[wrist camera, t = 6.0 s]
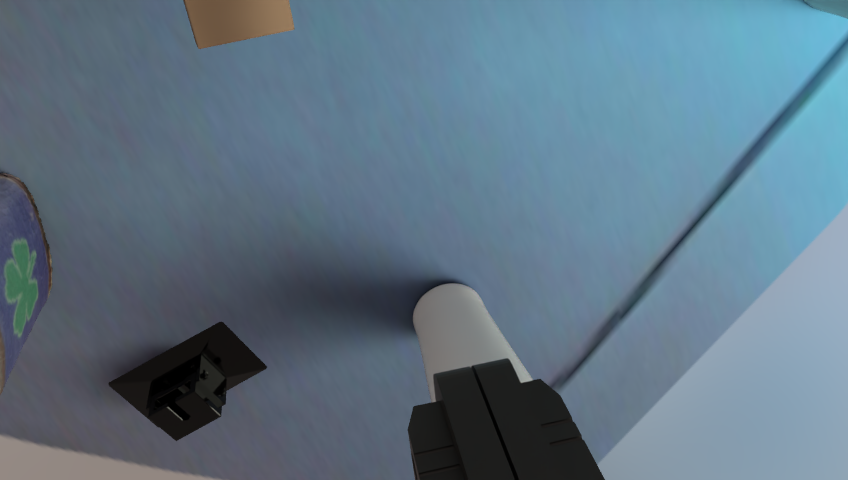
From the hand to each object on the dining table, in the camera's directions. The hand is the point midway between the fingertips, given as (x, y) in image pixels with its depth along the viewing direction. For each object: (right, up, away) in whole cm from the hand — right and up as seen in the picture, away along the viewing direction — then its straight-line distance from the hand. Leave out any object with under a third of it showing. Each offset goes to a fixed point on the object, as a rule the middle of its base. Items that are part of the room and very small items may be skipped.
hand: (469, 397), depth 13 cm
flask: (-25, +3, +25) cm, 35 cm away
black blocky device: (-18, -6, +33) cm, 38 cm away
